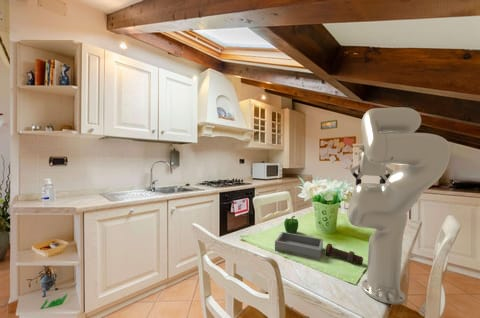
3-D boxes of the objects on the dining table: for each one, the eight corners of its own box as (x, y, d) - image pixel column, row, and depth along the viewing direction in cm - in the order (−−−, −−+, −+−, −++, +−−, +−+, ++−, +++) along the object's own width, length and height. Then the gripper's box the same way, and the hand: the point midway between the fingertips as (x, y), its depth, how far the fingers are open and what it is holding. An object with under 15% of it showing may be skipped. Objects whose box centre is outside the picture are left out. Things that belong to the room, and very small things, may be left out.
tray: (320, 260, 98) (320, 250, 98) (274, 250, 107) (275, 241, 107) (322, 247, 111) (323, 239, 111) (281, 239, 120) (282, 231, 120)
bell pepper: (288, 235, 126) (289, 218, 125) (281, 230, 134) (282, 214, 133) (301, 234, 128) (302, 217, 128) (294, 229, 136) (294, 213, 136)
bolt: (361, 270, 94) (325, 257, 104) (363, 260, 98) (329, 249, 107) (361, 261, 92) (324, 249, 101) (363, 251, 95) (328, 241, 105)
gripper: (354, 149, 94) (352, 188, 95) (398, 150, 92) (396, 190, 93) (348, 149, 101) (346, 186, 102) (388, 150, 99) (386, 187, 100)
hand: (370, 188), depth 97 cm, fingers open, 9 cm apart
